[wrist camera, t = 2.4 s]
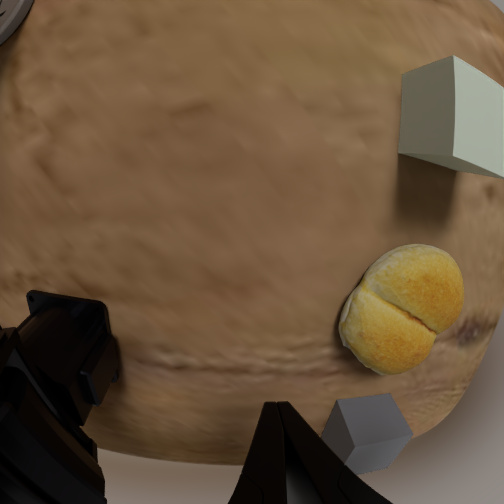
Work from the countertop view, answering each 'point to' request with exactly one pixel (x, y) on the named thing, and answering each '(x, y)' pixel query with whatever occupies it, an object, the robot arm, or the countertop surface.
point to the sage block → (453, 117)
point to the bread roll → (402, 308)
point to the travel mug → (12, 16)
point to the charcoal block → (366, 432)
